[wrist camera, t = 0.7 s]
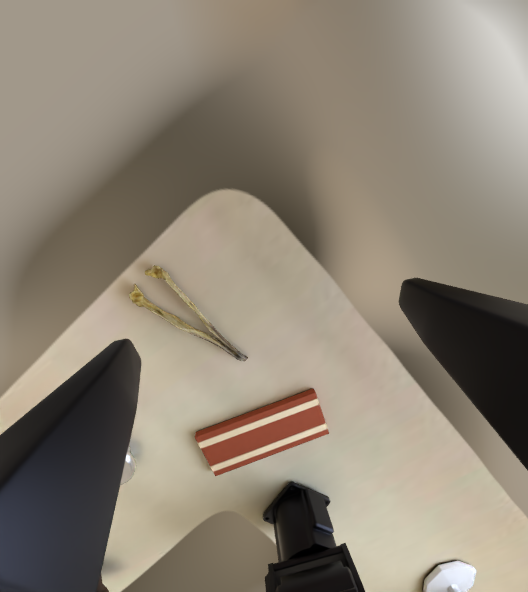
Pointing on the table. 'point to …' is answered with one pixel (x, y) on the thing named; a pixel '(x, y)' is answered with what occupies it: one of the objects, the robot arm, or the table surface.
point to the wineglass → (450, 578)
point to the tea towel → (262, 432)
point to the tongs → (142, 301)
